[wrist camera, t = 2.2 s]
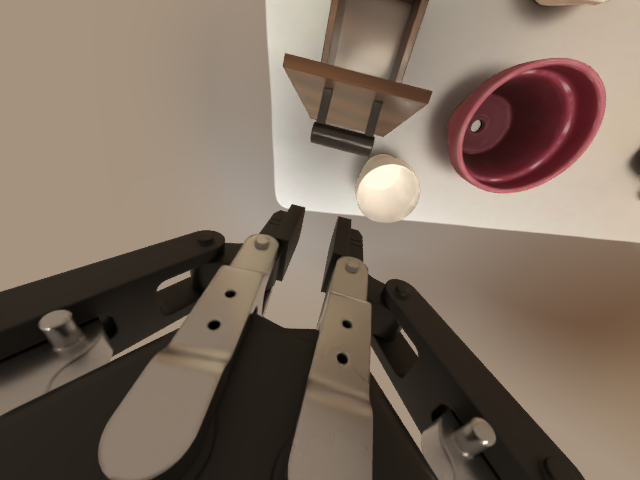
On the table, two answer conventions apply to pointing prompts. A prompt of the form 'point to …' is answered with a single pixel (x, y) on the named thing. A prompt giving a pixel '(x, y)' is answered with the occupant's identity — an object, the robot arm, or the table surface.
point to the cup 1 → (387, 189)
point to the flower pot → (526, 124)
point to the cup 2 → (569, 2)
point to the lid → (351, 103)
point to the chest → (373, 35)
